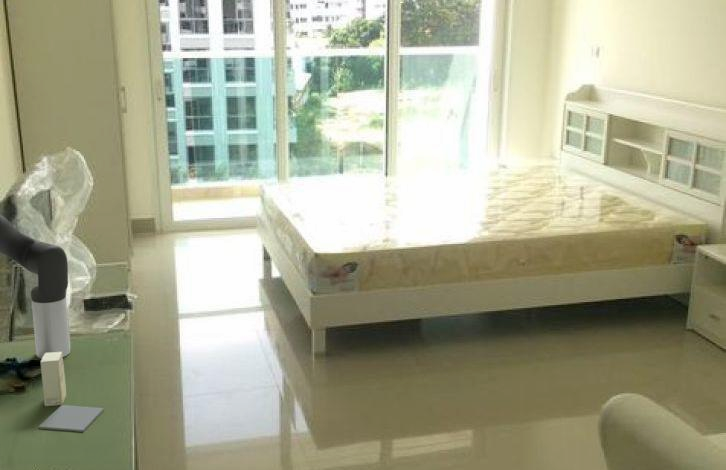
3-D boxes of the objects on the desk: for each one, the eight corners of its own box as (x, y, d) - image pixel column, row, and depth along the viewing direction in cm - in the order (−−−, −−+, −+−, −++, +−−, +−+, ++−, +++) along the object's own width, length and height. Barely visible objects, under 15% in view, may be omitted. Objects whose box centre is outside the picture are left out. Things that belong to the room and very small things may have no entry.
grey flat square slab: (62, 406, 188) (61, 404, 188) (104, 409, 187) (103, 408, 187) (38, 428, 177) (38, 426, 177) (83, 431, 176) (83, 429, 176)
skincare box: (62, 405, 188) (58, 360, 185) (43, 406, 187) (39, 362, 184) (66, 394, 194) (63, 350, 191) (48, 395, 193) (44, 351, 190)
